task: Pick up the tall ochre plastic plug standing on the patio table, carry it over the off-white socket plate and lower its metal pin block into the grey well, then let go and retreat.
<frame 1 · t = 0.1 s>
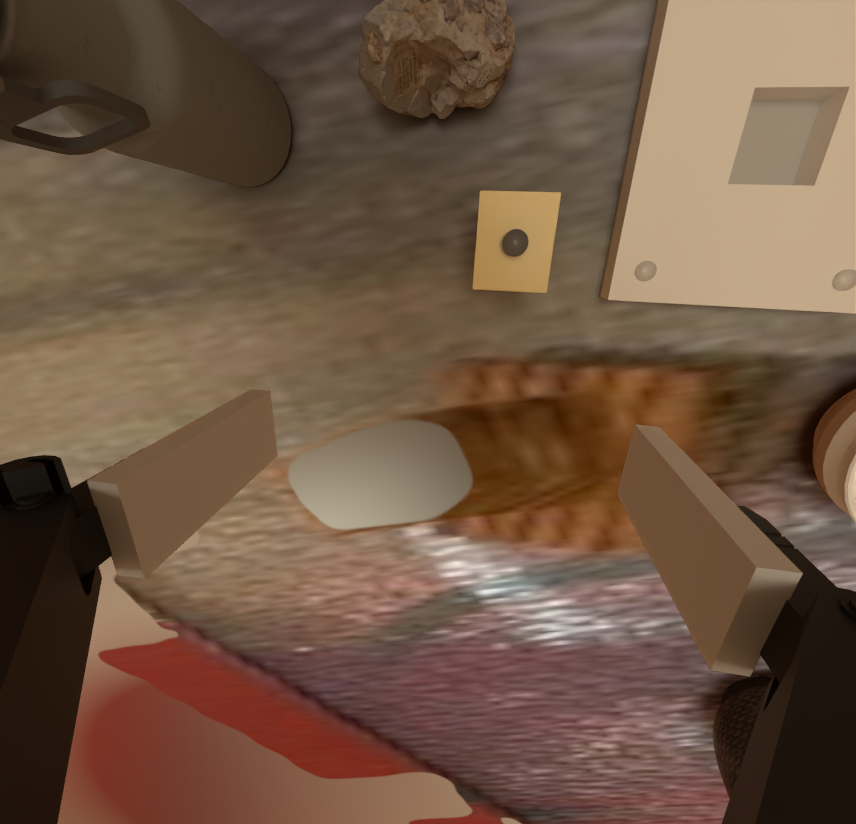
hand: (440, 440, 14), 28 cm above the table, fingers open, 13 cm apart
plug: (507, 246, 37), on the table
planter: (757, 698, 53), on the table
water bottle: (247, 131, 37), on the table
rock: (452, 75, 33), on the table
socket plate: (759, 148, 32), on the table
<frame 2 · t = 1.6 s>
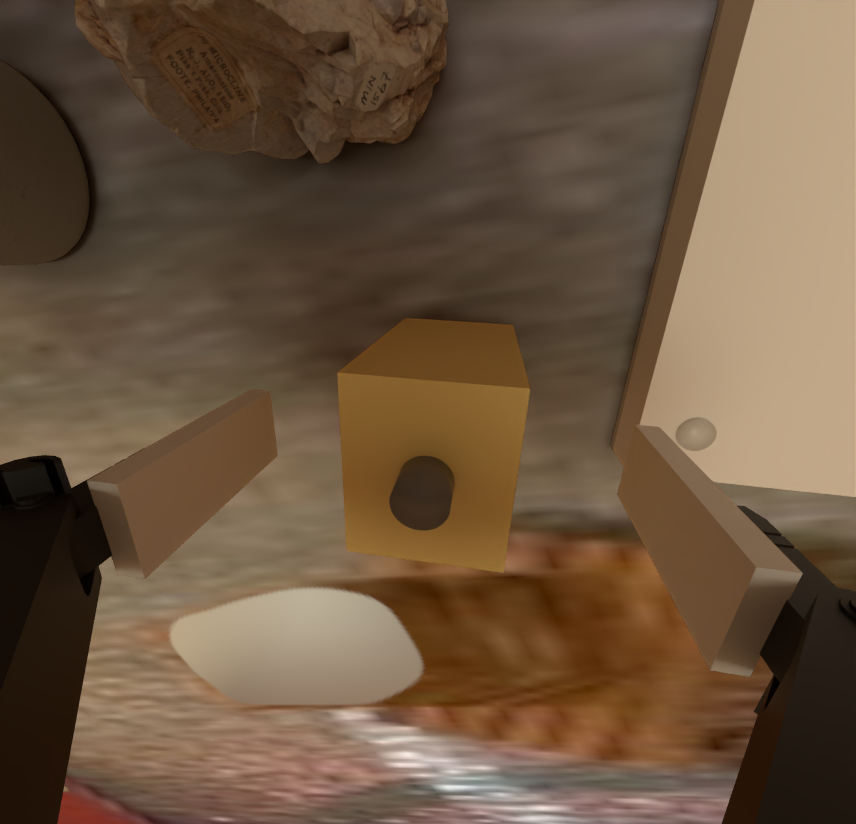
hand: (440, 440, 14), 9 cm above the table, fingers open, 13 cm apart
plug: (458, 366, 22), on the table
water bottle: (22, 173, 22), on the table
rock: (348, 81, 18), on the table
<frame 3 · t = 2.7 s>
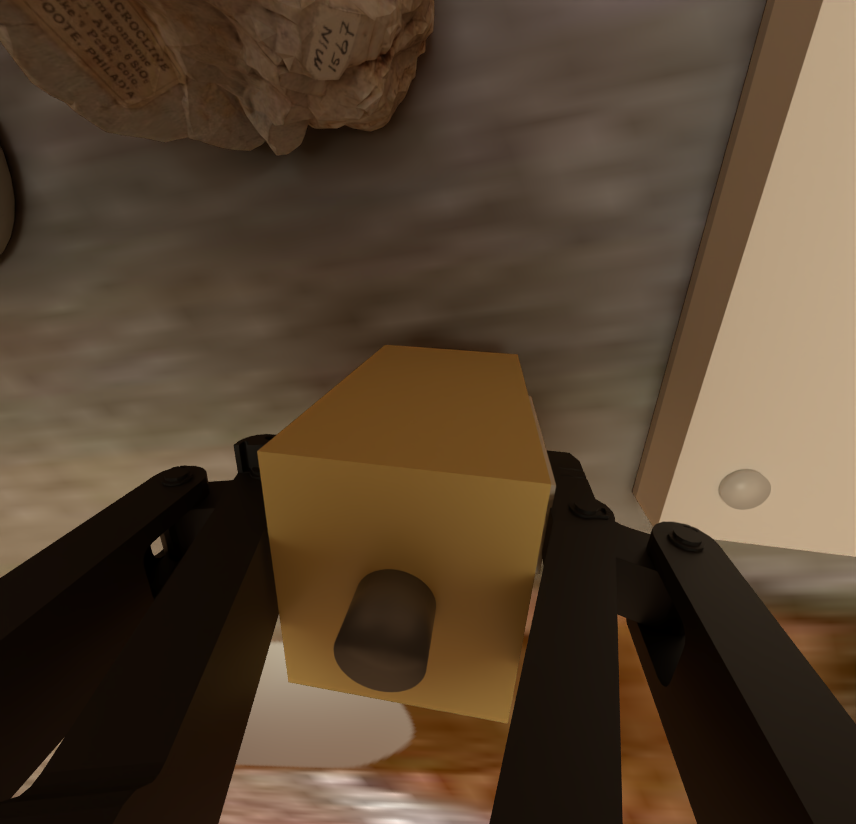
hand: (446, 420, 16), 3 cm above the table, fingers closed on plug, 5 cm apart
plug: (452, 398, 19), on the table, touching gripper
rock: (316, 57, 15), on the table
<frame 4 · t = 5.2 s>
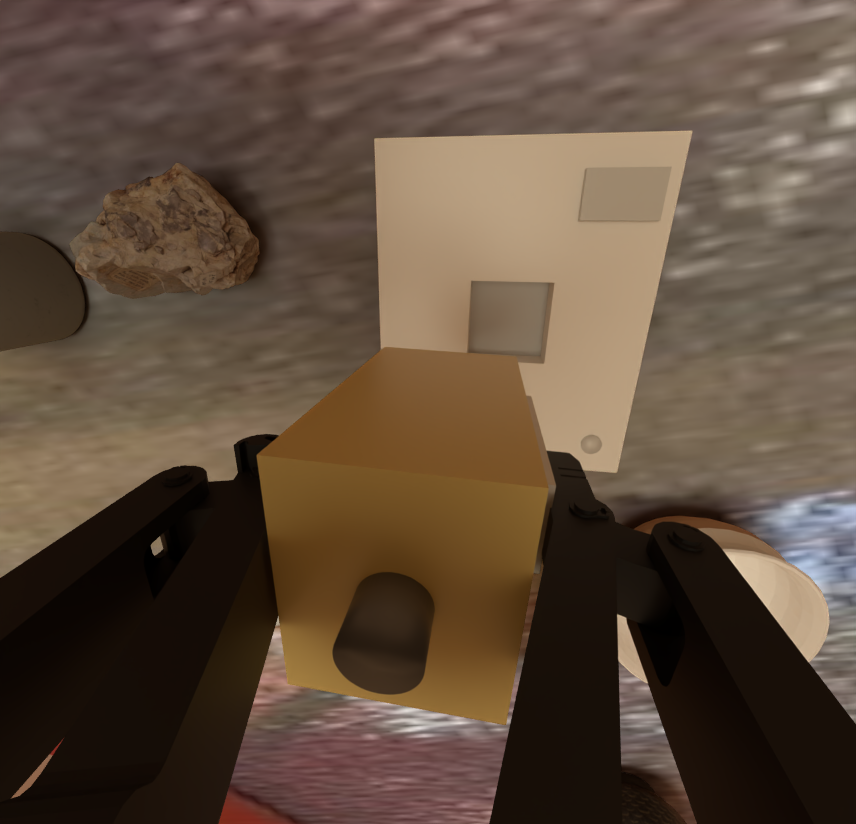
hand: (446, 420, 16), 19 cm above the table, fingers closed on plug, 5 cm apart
plug: (451, 399, 19), point 16 cm above the table, touching gripper
planter: (616, 788, 53), on the table
water bottle: (46, 290, 38), on the table
rock: (220, 248, 34), on the table
socket plate: (506, 317, 33), on the table
bowl: (670, 559, 39), on the table
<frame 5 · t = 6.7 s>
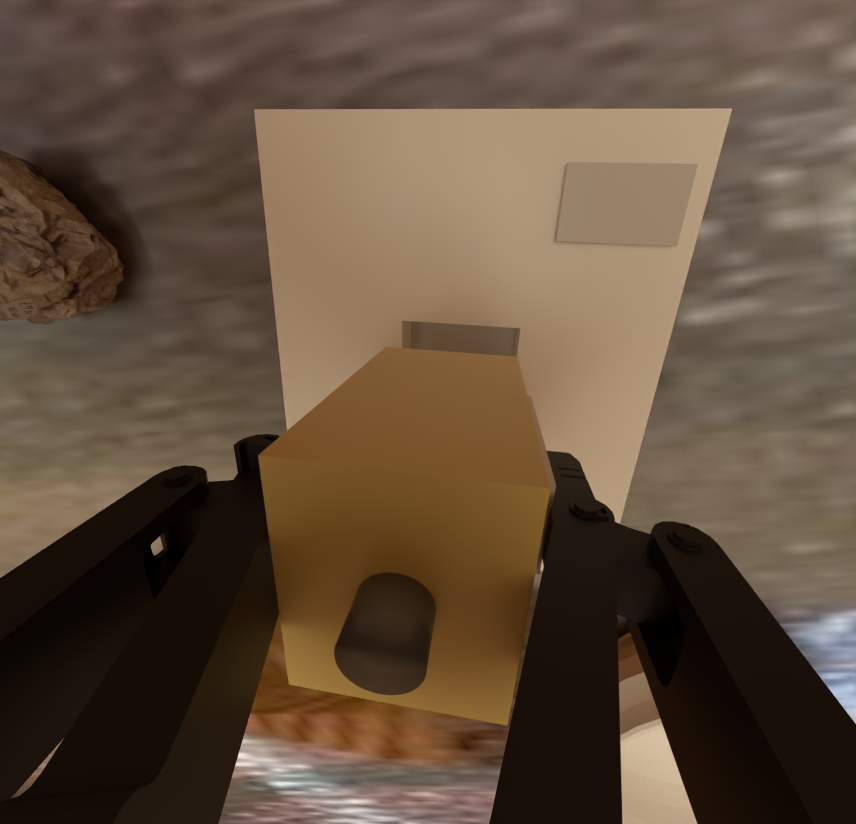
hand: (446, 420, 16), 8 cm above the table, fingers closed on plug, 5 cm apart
plug: (452, 399, 19), point 6 cm above the table, touching gripper
rock: (77, 259, 25), on the table
socket plate: (460, 366, 24), on the table
bowl: (671, 671, 31), on the table
when the fingers open (4 cm above the table, at t = 7.8 s): plug stays where it is, resting on socket plate.
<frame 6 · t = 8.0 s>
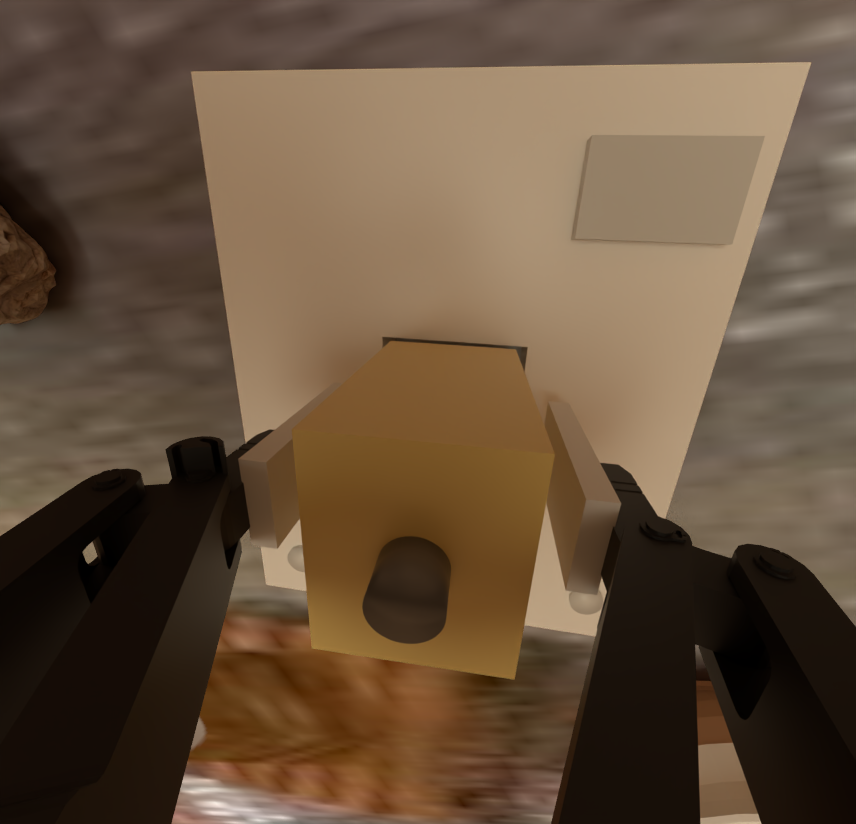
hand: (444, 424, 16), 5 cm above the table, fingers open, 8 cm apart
plug: (452, 392, 20), point 1 cm above the table, touching socket plate
rock: (5, 261, 22), on the table
socket plate: (454, 388, 20), on the table
bowl: (697, 732, 27), on the table
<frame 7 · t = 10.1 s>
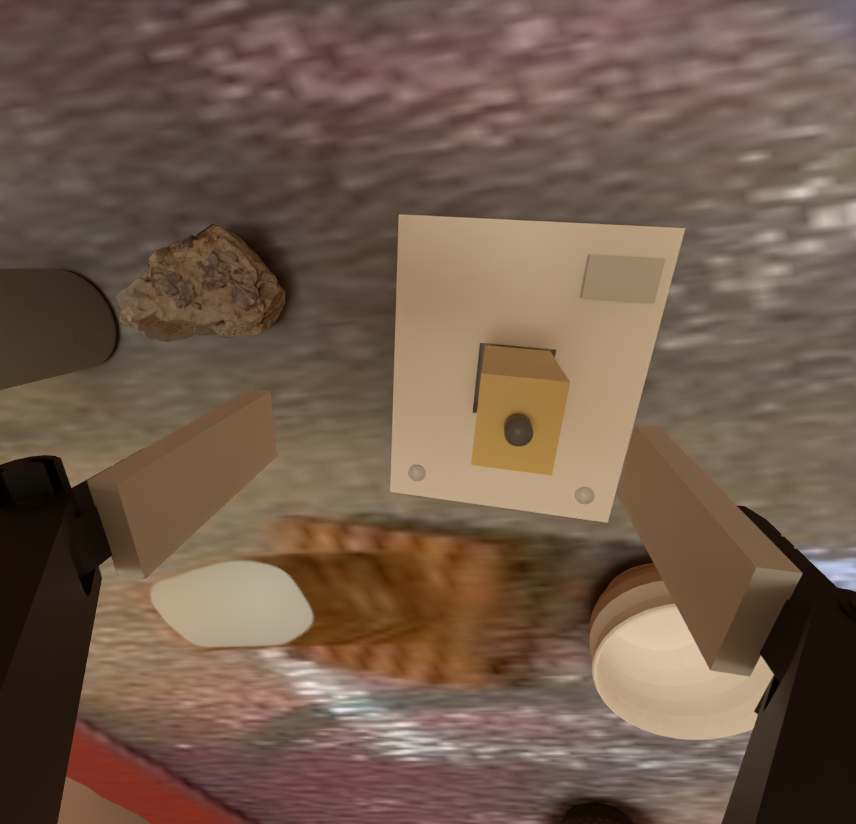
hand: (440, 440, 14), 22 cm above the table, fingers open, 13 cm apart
plug: (510, 375, 35), resting on socket plate
planter: (597, 820, 55), on the table
water bottle: (80, 321, 41), on the table
rock: (247, 294, 37), on the table
socket plate: (511, 373, 35), on the table
bowl: (656, 602, 41), on the table
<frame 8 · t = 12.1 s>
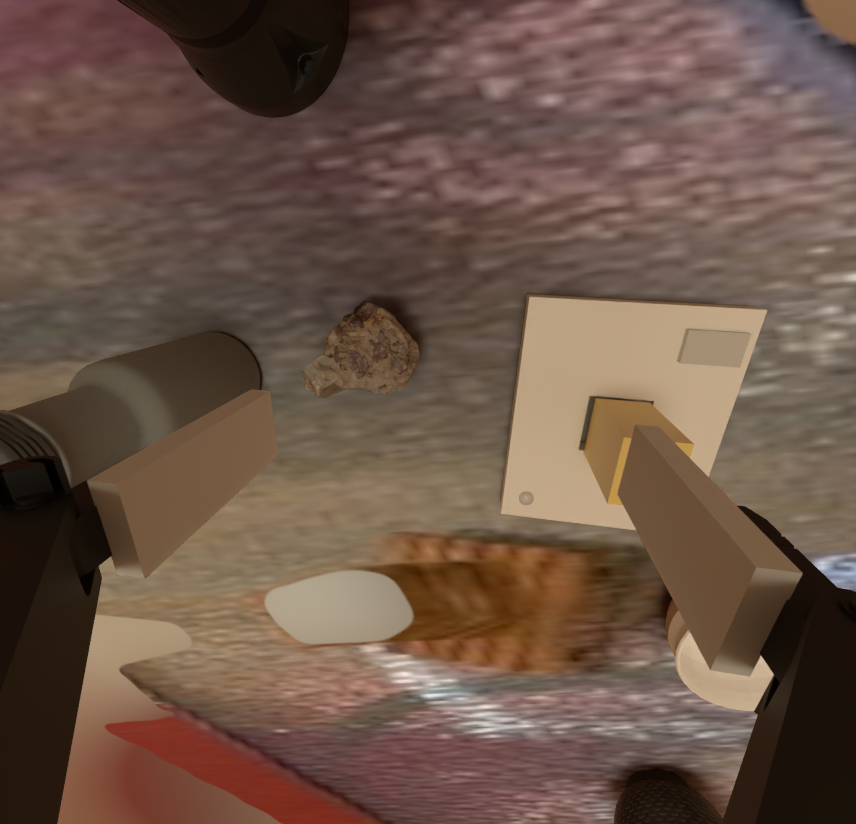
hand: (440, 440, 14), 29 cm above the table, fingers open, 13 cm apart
plug: (607, 417, 42), resting on socket plate
planter: (655, 784, 63), on the table
water bottle: (227, 372, 48), on the table
rock: (380, 351, 44), on the table
socket plate: (606, 415, 42), on the table
bowl: (718, 599, 49), on the table
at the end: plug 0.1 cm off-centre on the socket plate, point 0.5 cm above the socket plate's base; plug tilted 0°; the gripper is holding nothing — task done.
